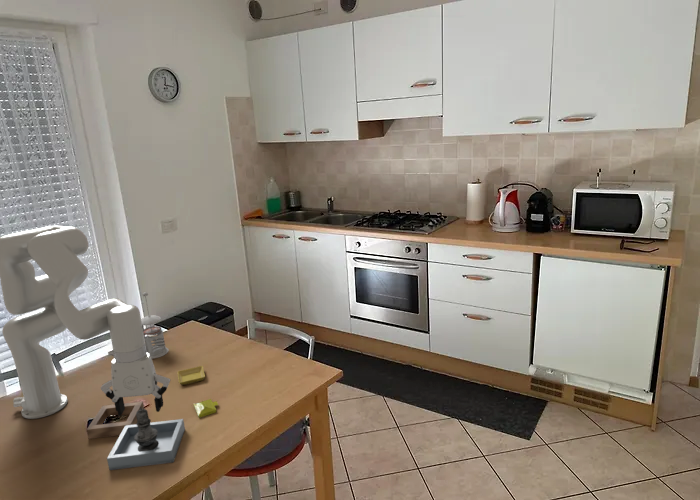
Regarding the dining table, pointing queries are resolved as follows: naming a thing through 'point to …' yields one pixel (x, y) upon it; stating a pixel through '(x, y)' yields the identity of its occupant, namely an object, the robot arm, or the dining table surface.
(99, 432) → the hollow square frame
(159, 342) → the french press
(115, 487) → the dining table surface
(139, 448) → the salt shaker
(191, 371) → the yellow shallow rimmed piece
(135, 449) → the tray
